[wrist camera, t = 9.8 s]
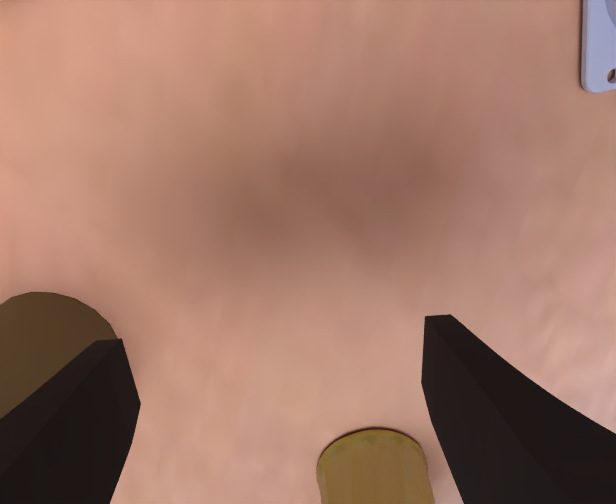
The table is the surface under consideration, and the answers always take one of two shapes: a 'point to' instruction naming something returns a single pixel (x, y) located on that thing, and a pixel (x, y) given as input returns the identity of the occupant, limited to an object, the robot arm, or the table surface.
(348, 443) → the vase
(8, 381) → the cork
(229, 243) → the table surface
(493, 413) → the robot arm
